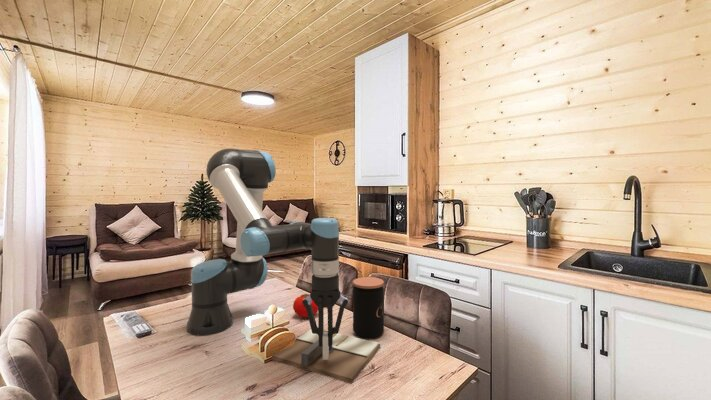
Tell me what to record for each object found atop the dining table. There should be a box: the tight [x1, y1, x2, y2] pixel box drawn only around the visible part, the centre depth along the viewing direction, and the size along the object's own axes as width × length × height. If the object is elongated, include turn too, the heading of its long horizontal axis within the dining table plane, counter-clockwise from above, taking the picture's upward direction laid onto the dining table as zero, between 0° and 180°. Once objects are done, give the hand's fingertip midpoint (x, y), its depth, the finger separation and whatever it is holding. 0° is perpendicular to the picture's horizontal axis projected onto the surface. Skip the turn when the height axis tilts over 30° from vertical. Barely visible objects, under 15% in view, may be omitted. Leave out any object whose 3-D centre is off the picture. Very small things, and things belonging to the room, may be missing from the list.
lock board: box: [271, 327, 381, 384], centre depth 96 cm, size 26×20×2 cm
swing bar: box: [301, 330, 332, 366], centre depth 92 cm, size 13×4×4 cm, turn 154°
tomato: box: [292, 293, 318, 318], centre depth 125 cm, size 9×10×8 cm
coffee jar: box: [352, 276, 385, 340], centre depth 110 cm, size 11×11×18 cm
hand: (325, 356), depth 90 cm, fingers closed
